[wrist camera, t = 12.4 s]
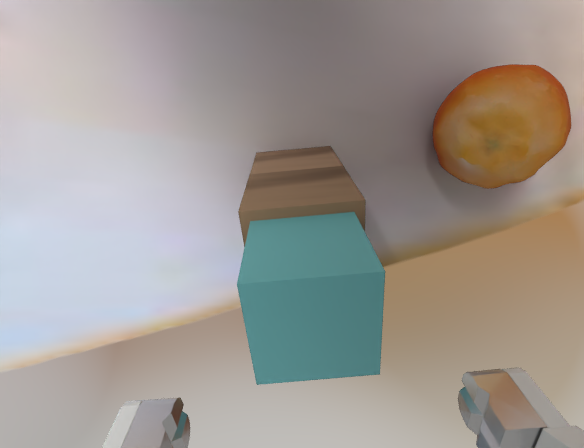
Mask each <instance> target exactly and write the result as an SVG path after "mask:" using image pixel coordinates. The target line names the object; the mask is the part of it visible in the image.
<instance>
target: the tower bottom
mask: <svg viewBox="0 0 584 448" xmlns="http://www.w3.org/2000/svg"><path fill="white" fill-rule="evenodd" d="M335 166H343V165H342V163H341V162H340V160H339V159H338V157H337V156H336V154H335V152H334V151H333V149H332V148H331V146H325V147H314V148H303V149H292V150H281V151H270V152H259V153H256V156H255V160H254V163H253V166H252V169H251V173H250V174H259V173H269V172H280V171H291V170H302V169H313V168H324V167H335Z"/></svg>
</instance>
